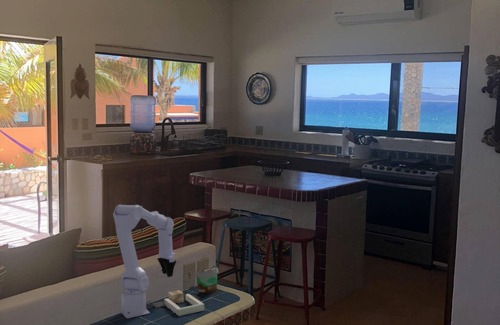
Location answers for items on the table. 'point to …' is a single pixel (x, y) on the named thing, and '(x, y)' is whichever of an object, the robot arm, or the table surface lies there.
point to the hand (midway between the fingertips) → (167, 275)
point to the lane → (179, 311)
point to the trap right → (195, 296)
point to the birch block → (176, 296)
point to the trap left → (159, 304)
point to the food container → (207, 280)
